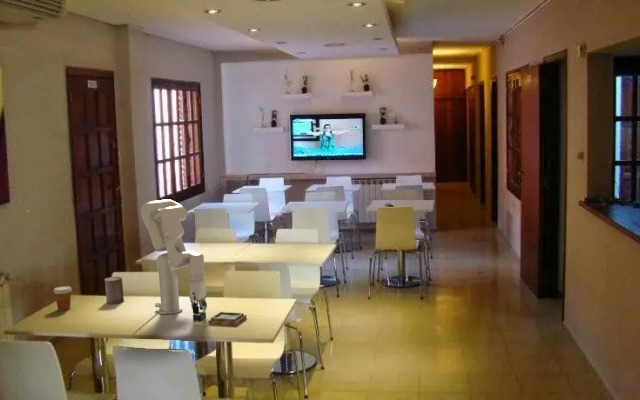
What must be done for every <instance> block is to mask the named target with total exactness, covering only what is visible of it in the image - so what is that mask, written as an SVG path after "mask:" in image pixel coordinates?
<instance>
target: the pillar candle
mask: <svg viewBox="0 0 640 400" xmlns="http://www.w3.org/2000/svg"><path fill="white" fill-rule="evenodd" d="M123 286H124V285H123V278H122V276H110V277H106V278H104V287H105V289H104V290H105V298H106V304H108V305H115V304H116V305H117V304H120V303H123V302H125V299H124V297H125V296H124V287H123Z"/></svg>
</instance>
